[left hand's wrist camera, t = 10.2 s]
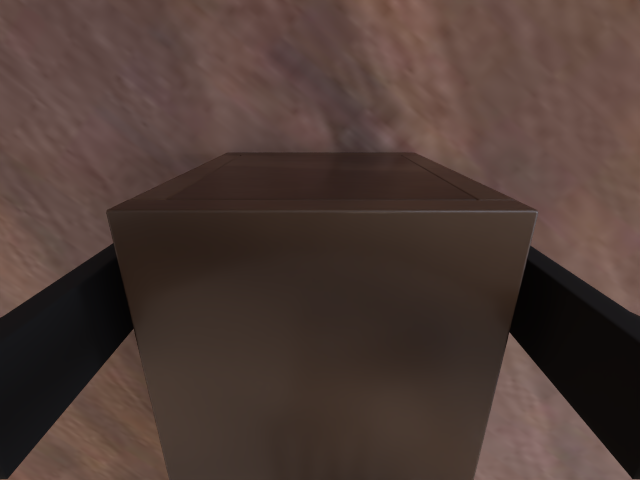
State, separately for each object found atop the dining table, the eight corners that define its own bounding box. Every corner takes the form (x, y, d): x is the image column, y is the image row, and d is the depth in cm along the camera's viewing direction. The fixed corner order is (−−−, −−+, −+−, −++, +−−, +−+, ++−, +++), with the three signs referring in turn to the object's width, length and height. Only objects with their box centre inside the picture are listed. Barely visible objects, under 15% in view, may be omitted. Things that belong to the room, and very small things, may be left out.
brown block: (388, 432, 26) (433, 649, 15) (253, 432, 26) (208, 649, 15) (415, 152, 18) (540, 210, 8) (226, 152, 18) (103, 209, 8)
